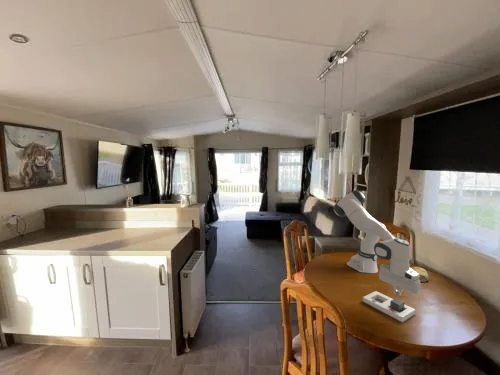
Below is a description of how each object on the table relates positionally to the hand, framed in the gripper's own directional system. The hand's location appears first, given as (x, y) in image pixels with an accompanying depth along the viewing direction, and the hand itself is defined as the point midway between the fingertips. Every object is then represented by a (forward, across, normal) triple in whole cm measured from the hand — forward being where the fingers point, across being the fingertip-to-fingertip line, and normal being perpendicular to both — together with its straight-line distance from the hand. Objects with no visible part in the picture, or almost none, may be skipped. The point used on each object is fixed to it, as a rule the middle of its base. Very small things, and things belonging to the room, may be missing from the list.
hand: (397, 294), depth 131 cm
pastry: (+11, -14, +54) cm, 57 cm away
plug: (+10, 0, 0) cm, 10 cm away
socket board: (+11, -5, 0) cm, 12 cm away
